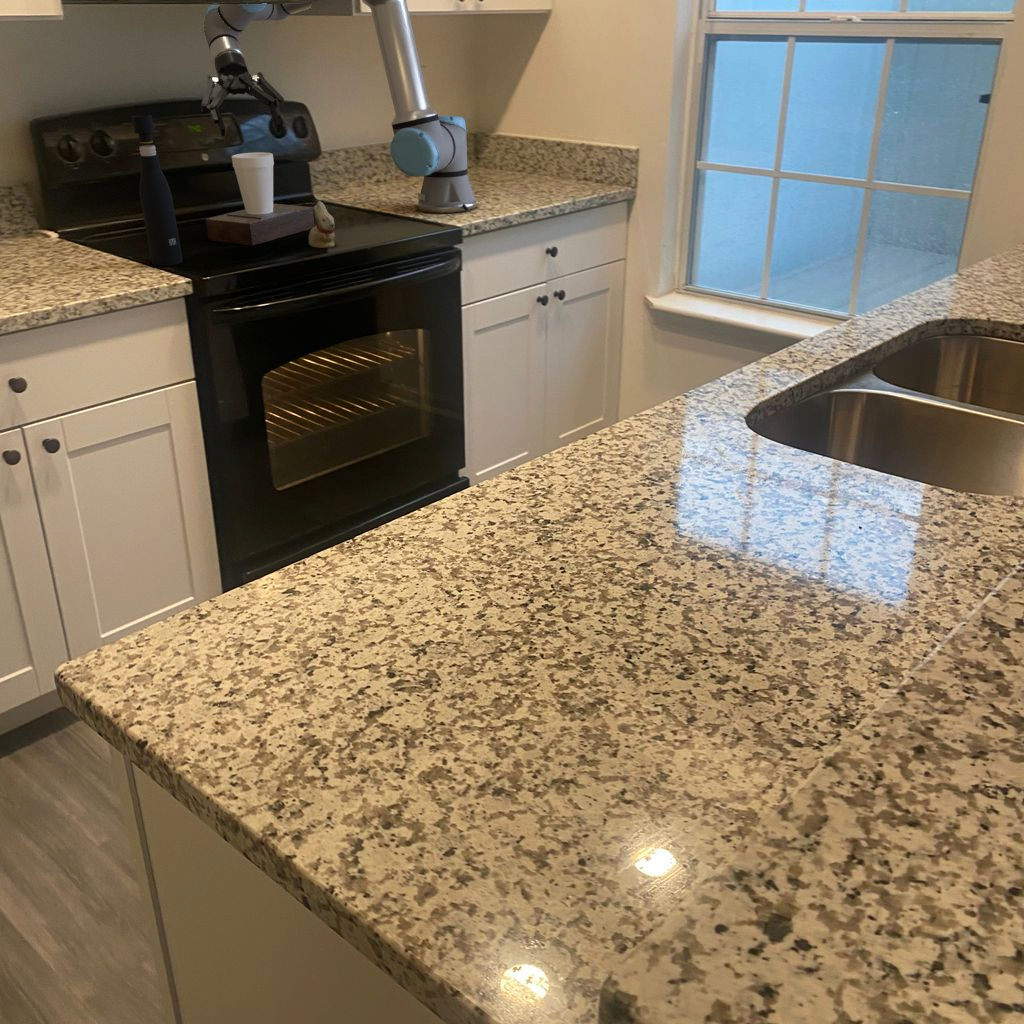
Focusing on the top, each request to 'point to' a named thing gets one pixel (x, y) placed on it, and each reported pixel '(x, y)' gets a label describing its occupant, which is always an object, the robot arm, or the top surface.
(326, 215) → the chocolate bunny
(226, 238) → the slotted wooden box
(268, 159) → the foam cup
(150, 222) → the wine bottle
